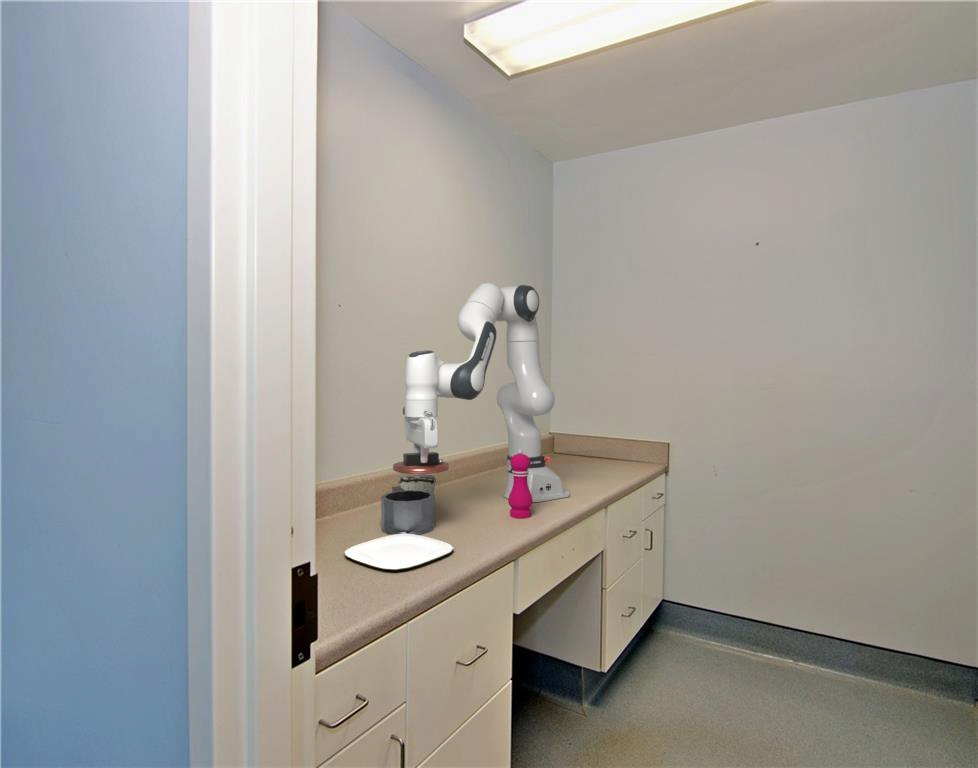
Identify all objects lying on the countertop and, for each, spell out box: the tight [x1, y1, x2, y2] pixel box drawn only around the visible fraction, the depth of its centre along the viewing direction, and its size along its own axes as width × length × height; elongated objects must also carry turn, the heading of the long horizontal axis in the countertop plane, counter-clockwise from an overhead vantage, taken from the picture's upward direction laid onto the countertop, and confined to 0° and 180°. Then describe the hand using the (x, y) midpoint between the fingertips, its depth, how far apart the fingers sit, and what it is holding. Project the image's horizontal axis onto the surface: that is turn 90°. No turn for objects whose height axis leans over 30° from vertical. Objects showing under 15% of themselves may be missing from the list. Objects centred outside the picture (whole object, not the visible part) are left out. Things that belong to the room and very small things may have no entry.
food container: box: [397, 474, 438, 495], centre depth 176 cm, size 12×6×10 cm, turn 84°
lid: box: [392, 451, 450, 475], centre depth 151 cm, size 15×15×4 cm
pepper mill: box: [507, 449, 534, 519], centre depth 165 cm, size 7×7×20 cm
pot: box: [380, 485, 436, 536], centre depth 156 cm, size 14×22×9 cm, turn 22°
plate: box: [344, 534, 455, 571], centre depth 131 cm, size 22×22×2 cm
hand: (421, 461), depth 151 cm, fingers closed on lid, 3 cm apart
